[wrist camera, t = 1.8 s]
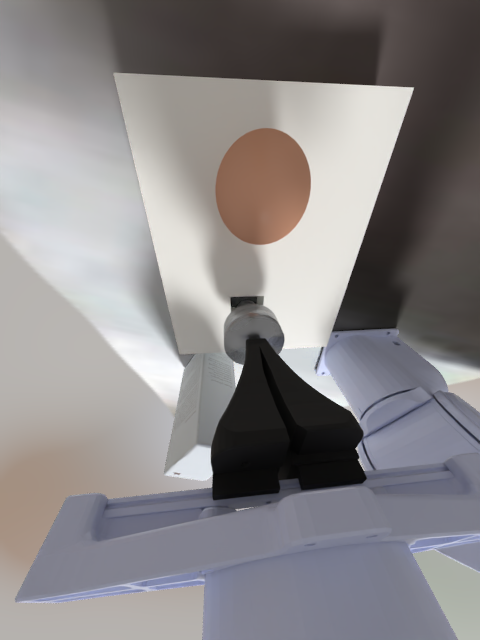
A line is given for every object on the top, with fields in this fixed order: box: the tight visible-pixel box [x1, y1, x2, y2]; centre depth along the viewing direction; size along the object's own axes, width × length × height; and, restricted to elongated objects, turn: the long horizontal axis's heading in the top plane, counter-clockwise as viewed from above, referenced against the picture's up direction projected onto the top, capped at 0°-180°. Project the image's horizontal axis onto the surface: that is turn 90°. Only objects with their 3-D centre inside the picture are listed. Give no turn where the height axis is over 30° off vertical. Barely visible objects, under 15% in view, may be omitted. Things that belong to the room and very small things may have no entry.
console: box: [113, 73, 414, 355], centre depth 17 cm, size 16×19×4 cm
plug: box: [224, 300, 285, 365], centre depth 16 cm, size 4×4×5 cm
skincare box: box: [164, 352, 236, 481], centre depth 20 cm, size 6×4×12 cm
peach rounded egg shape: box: [215, 128, 311, 245], centre depth 11 cm, size 4×4×5 cm
